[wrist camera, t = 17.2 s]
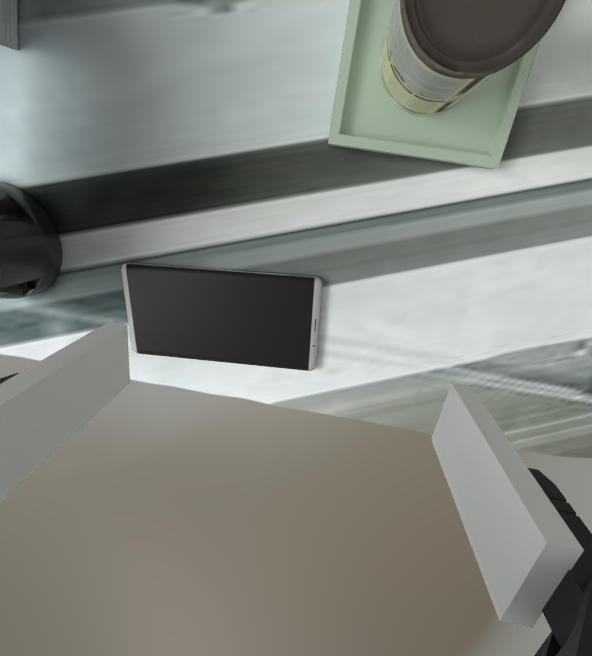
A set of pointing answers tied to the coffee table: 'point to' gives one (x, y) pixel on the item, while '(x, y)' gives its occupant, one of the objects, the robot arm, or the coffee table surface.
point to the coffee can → (456, 47)
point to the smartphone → (223, 315)
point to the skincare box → (9, 24)
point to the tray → (413, 130)
